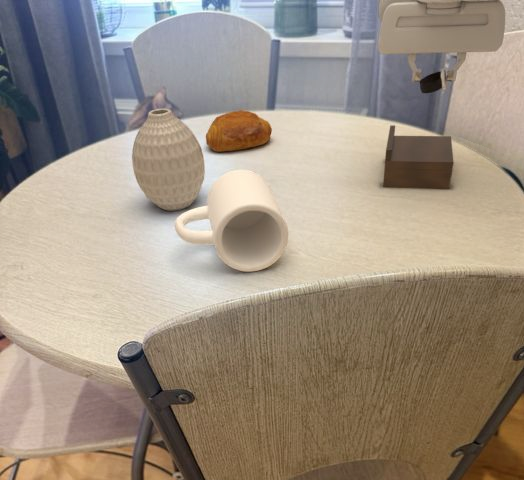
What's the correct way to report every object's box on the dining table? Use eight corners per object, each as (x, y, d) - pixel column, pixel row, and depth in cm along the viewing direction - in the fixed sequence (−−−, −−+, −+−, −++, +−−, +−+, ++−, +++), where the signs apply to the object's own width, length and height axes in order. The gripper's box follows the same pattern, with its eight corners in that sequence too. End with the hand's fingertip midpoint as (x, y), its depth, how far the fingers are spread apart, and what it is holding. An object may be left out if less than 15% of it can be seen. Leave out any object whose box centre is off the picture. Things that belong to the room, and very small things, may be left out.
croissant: (275, 157, 123) (279, 121, 118) (208, 157, 119) (209, 120, 114) (261, 136, 133) (264, 102, 128) (199, 136, 130) (200, 101, 125)
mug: (274, 227, 91) (270, 164, 84) (290, 267, 81) (287, 199, 74) (179, 240, 90) (167, 177, 83) (182, 282, 79) (169, 214, 72)
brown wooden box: (447, 161, 109) (452, 125, 104) (449, 189, 98) (455, 150, 94) (387, 159, 111) (390, 125, 107) (383, 186, 101) (386, 149, 97)
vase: (127, 210, 100) (105, 117, 90) (173, 185, 108) (157, 97, 98) (179, 224, 94) (161, 127, 84) (222, 197, 102) (212, 105, 92)
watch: (443, 97, 91) (446, 73, 89) (415, 96, 93) (417, 73, 91) (449, 85, 97) (452, 63, 94) (422, 84, 98) (425, 62, 96)
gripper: (378, -8, 85) (372, 86, 94) (515, -15, 80) (496, 84, 89) (380, -13, 90) (375, 77, 98) (510, -20, 85) (492, 75, 94)
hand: (433, 80), depth 94 cm, fingers closed on watch, 4 cm apart
